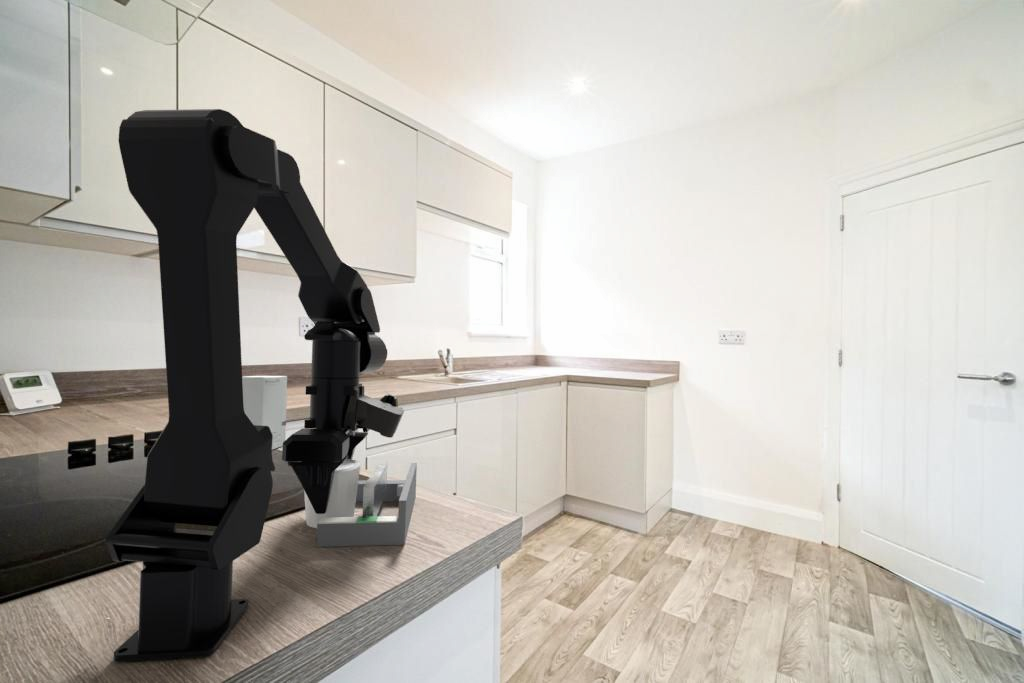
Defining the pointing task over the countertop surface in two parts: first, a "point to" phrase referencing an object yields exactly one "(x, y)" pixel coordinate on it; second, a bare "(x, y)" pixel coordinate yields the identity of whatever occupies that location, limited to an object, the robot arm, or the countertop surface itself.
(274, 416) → the skincare box
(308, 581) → the countertop surface
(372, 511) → the flat metal bar
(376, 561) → the countertop surface
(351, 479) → the white tapered cup
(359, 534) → the frame
